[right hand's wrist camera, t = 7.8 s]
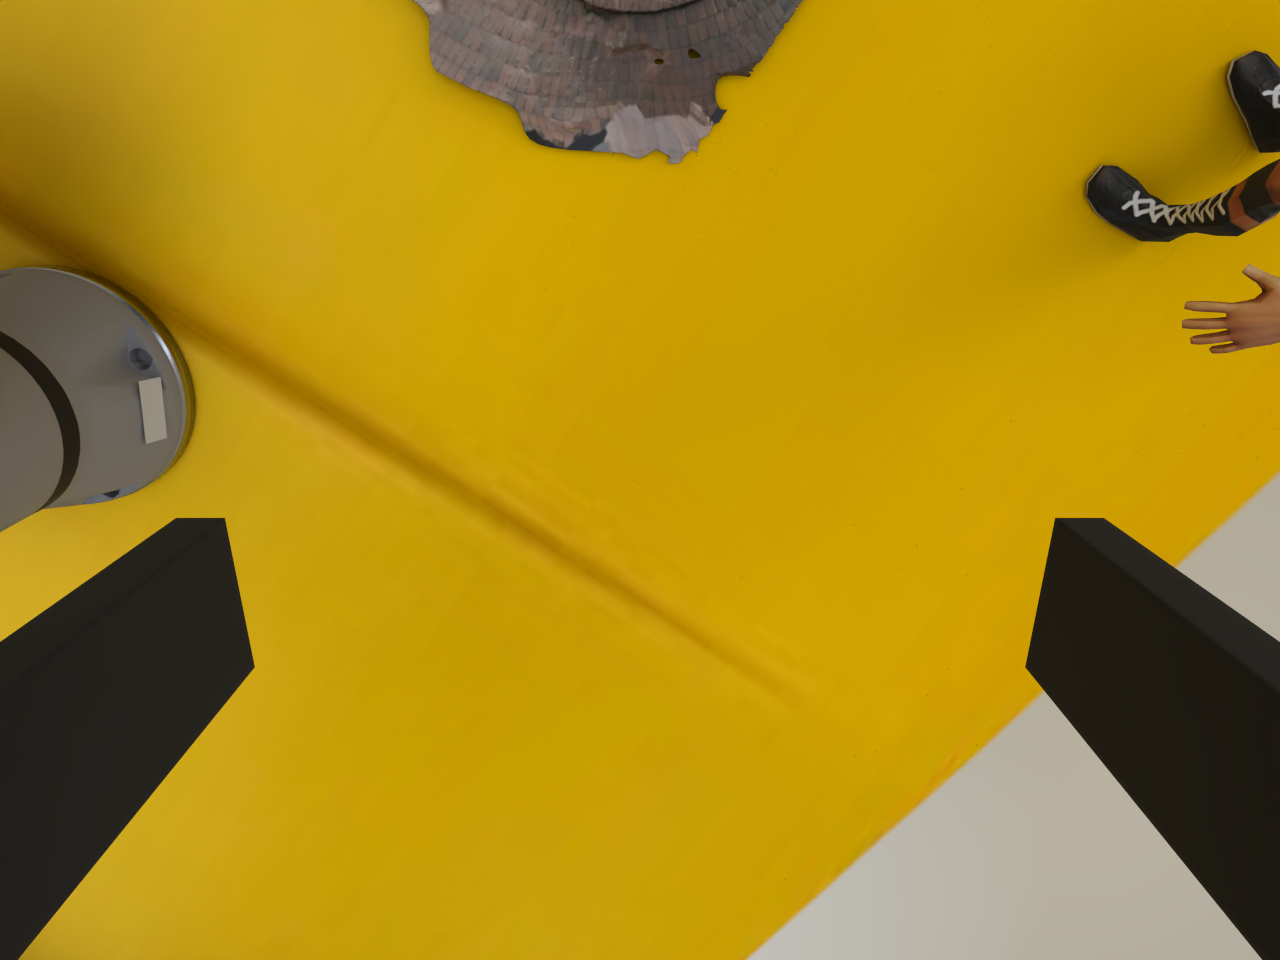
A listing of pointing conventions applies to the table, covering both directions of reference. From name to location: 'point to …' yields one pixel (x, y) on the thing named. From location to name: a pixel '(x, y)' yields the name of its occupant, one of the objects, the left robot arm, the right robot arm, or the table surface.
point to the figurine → (1215, 210)
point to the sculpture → (605, 64)
